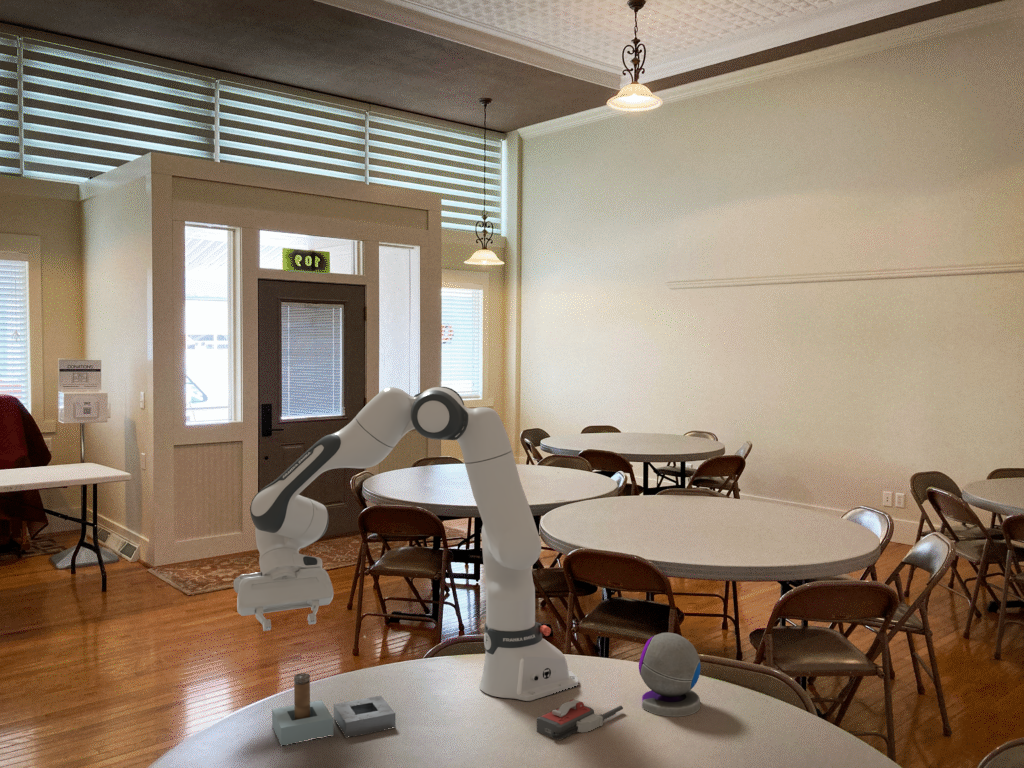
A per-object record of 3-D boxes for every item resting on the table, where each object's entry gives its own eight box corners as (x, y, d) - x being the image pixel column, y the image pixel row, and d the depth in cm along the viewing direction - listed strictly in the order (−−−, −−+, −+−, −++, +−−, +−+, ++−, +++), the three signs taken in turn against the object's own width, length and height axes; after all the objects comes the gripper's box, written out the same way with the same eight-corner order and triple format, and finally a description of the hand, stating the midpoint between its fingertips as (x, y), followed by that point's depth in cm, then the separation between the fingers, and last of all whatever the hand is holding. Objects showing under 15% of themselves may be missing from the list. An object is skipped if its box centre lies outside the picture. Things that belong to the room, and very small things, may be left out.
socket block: (381, 709, 173) (380, 695, 173) (395, 727, 164) (395, 713, 164) (333, 718, 169) (333, 704, 169) (346, 737, 160) (345, 722, 160)
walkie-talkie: (563, 747, 156) (626, 715, 170) (563, 724, 156) (626, 694, 170) (529, 733, 162) (592, 703, 176) (529, 711, 162) (592, 683, 176)
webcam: (648, 688, 184) (648, 622, 183) (706, 698, 178) (706, 629, 178) (632, 710, 172) (631, 639, 172) (693, 721, 166) (692, 647, 166)
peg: (308, 726, 165) (307, 672, 165) (311, 732, 163) (311, 677, 162) (293, 729, 164) (292, 674, 164) (296, 735, 161) (295, 679, 161)
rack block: (321, 716, 170) (321, 700, 170) (333, 735, 161) (333, 718, 161) (272, 726, 166) (272, 708, 166) (281, 746, 157) (281, 728, 156)
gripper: (233, 567, 176) (240, 625, 168) (328, 557, 185) (339, 611, 177) (231, 583, 180) (237, 640, 172) (324, 572, 189) (335, 626, 181)
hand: (290, 626), depth 174 cm, fingers open, 8 cm apart
